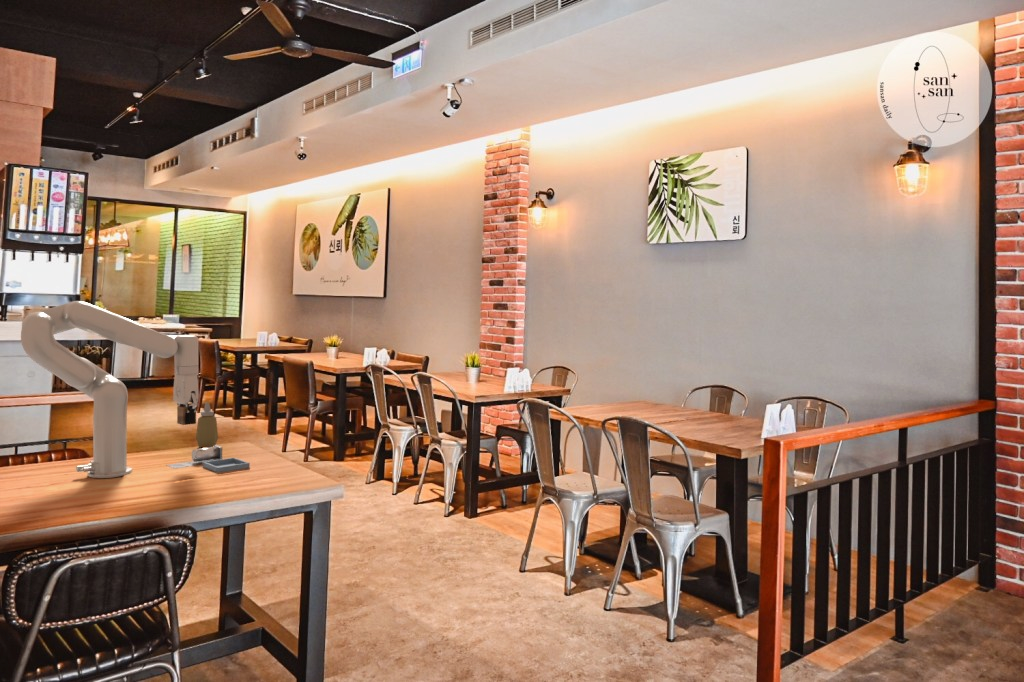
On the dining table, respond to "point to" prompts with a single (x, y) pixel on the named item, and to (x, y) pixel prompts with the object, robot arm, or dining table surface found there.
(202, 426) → the squeeze bottle
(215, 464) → the tray
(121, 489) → the dining table surface
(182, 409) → the block
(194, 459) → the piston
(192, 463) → the rail
